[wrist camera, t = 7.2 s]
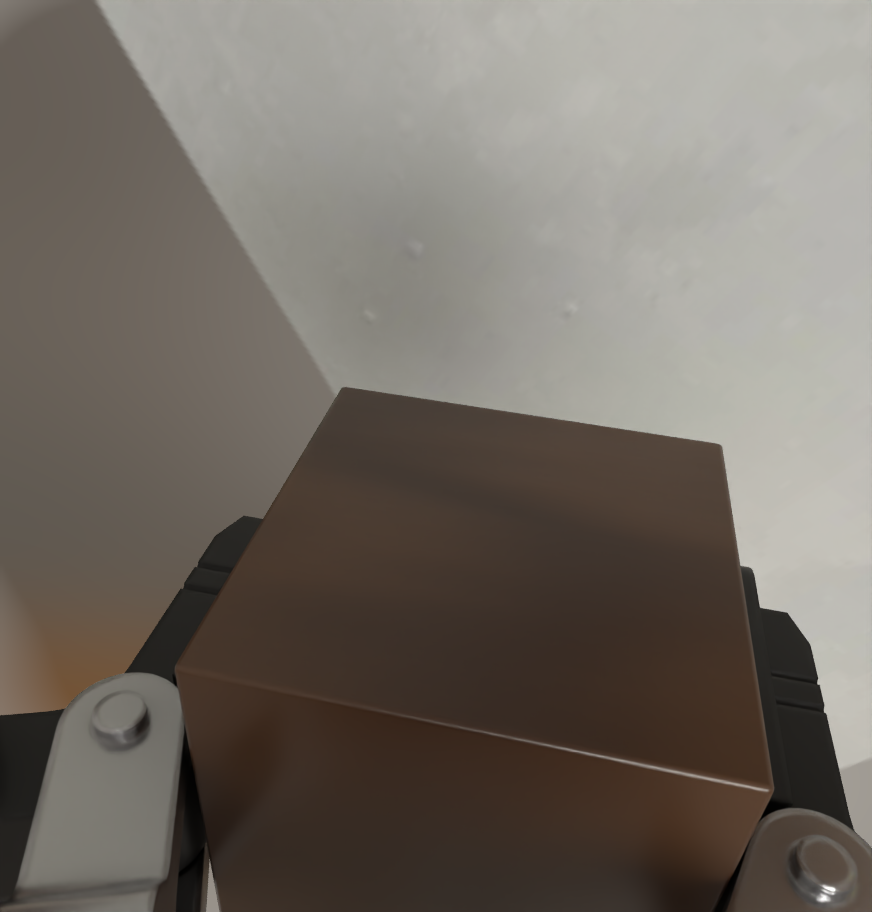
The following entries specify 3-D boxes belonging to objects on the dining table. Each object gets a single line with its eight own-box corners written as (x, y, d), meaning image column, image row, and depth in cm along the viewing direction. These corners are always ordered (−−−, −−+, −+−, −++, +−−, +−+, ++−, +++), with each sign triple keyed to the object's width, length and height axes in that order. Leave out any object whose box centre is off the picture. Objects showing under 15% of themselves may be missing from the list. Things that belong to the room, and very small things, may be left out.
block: (344, 641, 14) (223, 948, 10) (341, 384, 11) (170, 667, 7) (644, 700, 13) (647, 1054, 9) (723, 442, 10) (778, 792, 6)
